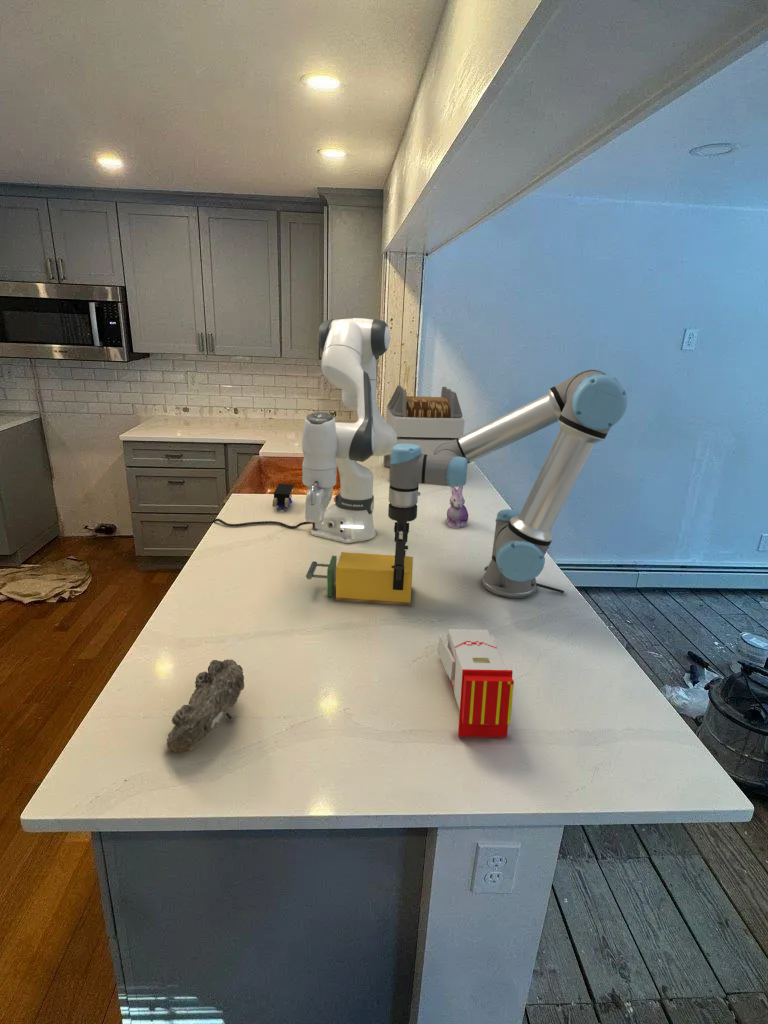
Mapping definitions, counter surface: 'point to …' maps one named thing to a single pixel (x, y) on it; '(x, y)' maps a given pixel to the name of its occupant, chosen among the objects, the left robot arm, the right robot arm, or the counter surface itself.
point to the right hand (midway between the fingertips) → (398, 580)
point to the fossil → (206, 705)
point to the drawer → (330, 575)
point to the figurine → (457, 509)
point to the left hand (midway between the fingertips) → (319, 526)
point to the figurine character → (282, 496)
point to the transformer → (424, 420)
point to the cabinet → (371, 579)
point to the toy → (478, 682)
